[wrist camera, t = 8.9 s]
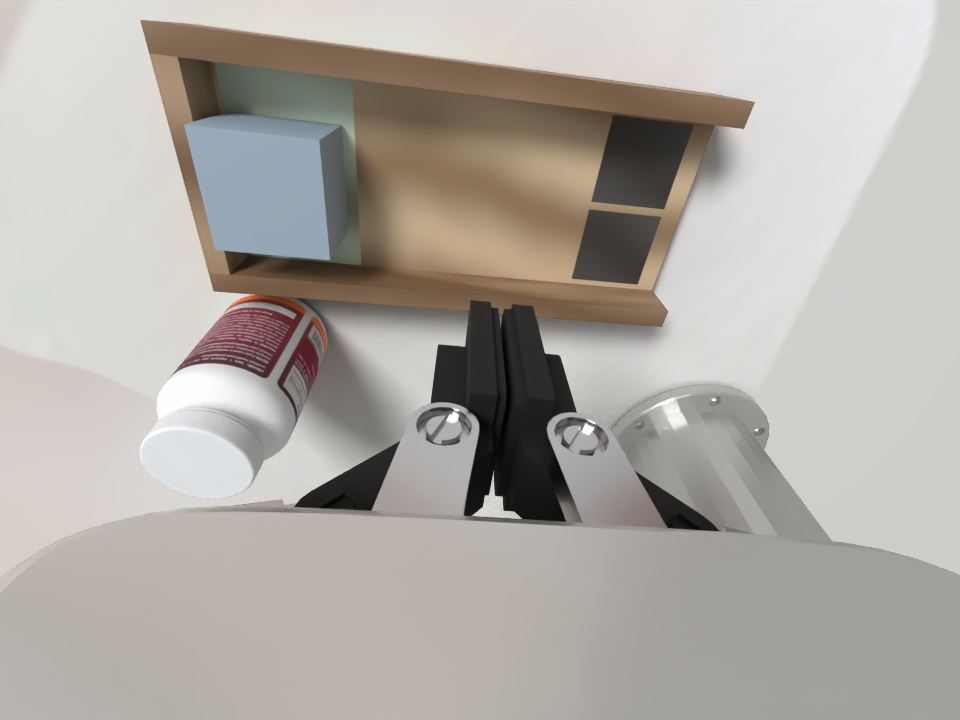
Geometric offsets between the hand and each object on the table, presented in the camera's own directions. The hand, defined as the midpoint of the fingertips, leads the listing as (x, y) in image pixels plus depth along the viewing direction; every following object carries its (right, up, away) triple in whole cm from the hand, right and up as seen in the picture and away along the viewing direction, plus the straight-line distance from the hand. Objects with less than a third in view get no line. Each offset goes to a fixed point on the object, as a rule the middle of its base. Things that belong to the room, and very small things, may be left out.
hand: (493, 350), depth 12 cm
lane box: (-2, +9, +11) cm, 14 cm away
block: (-10, +9, +10) cm, 16 cm away
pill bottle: (-13, +2, +16) cm, 21 cm away
